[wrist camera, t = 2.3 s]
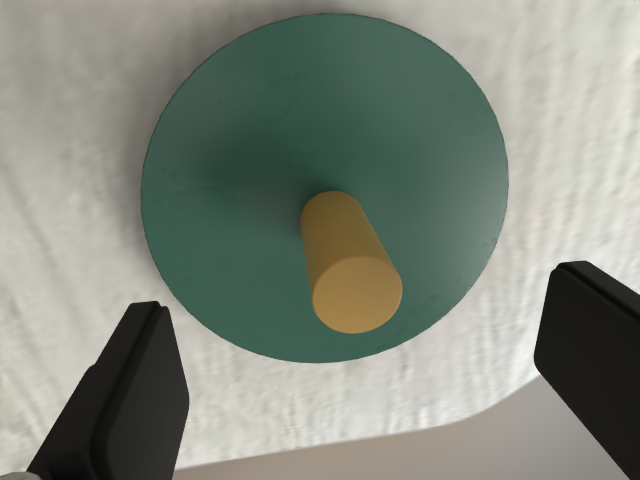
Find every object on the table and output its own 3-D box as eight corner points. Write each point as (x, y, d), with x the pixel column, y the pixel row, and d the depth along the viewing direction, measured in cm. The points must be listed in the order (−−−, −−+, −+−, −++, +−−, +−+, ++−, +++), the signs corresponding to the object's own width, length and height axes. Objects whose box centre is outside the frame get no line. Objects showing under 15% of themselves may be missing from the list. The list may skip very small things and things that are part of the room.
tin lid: (106, 25, 13) (-27, 8, 7) (518, 6, 14) (690, -23, 8) (186, 360, 19) (147, 499, 13) (474, 330, 20) (556, 446, 14)
